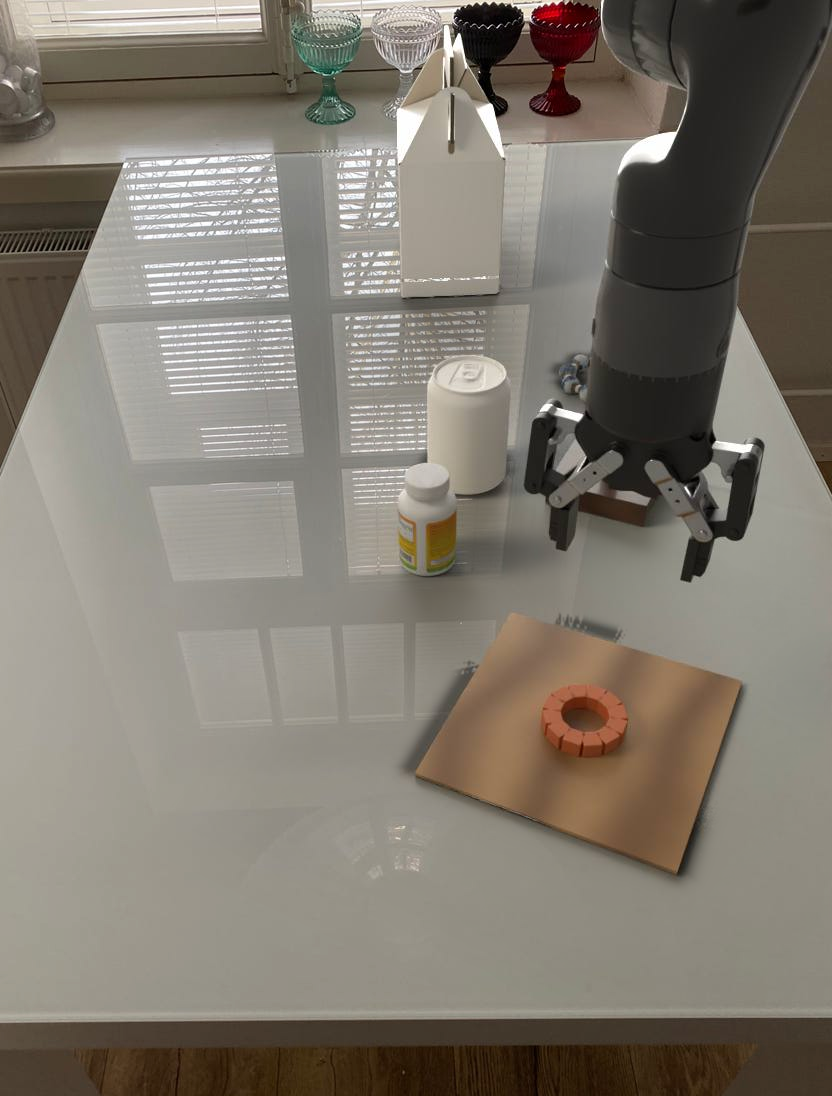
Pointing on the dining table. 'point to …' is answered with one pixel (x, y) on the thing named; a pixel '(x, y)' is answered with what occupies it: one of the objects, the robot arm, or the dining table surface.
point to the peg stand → (607, 496)
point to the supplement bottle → (427, 520)
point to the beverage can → (469, 422)
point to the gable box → (449, 180)
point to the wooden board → (587, 782)
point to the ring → (577, 740)
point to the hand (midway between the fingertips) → (625, 558)
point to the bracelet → (569, 373)
